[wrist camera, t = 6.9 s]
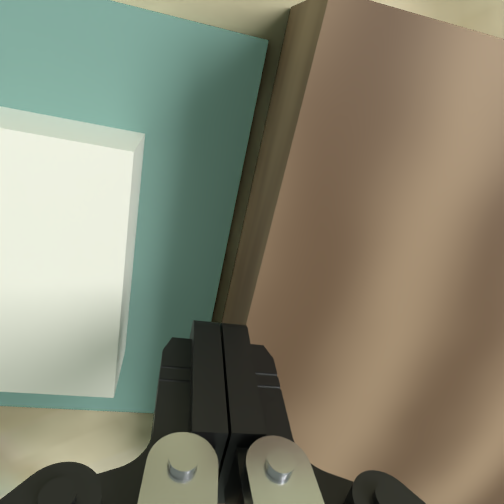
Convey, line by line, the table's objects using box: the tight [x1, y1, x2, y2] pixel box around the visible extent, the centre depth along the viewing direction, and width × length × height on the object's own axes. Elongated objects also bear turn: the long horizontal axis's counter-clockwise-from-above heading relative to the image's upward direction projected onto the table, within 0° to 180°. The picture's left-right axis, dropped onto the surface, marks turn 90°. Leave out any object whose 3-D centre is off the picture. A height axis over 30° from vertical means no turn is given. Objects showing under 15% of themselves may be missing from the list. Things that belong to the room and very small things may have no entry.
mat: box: [0, 0, 269, 413], centre depth 14 cm, size 10×16×1 cm, turn 168°
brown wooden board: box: [217, 0, 504, 504], centre depth 15 cm, size 16×18×4 cm
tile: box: [0, 106, 145, 398], centre depth 13 cm, size 6×9×2 cm, turn 168°
